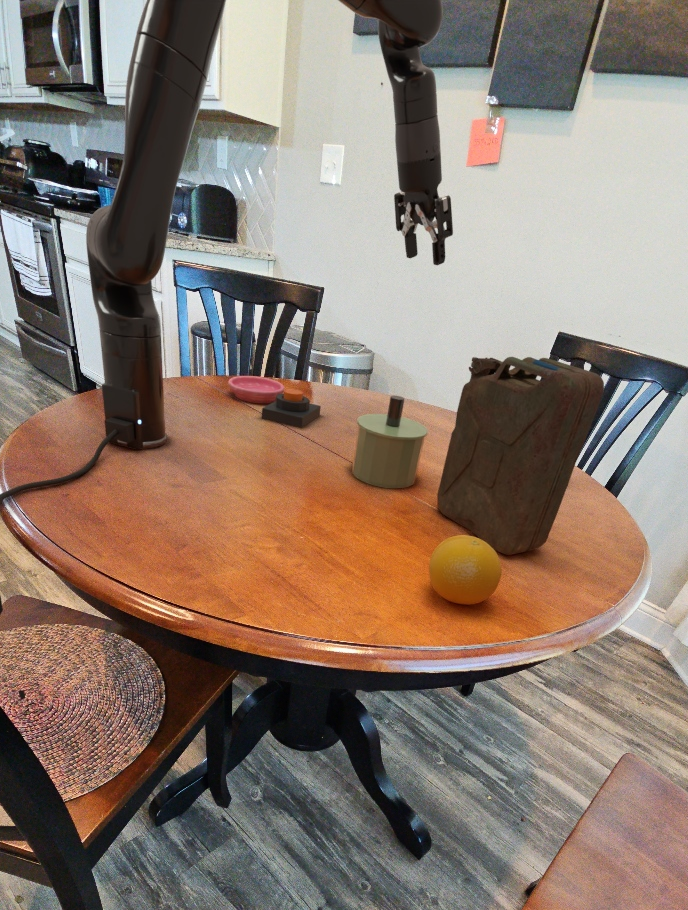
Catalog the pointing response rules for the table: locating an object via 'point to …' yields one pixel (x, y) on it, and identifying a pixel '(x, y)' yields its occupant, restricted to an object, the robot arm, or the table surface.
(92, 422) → the table surface
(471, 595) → the fruit
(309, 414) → the button block
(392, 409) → the lid
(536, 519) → the canister
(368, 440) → the pot
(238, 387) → the saucer
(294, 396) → the button
